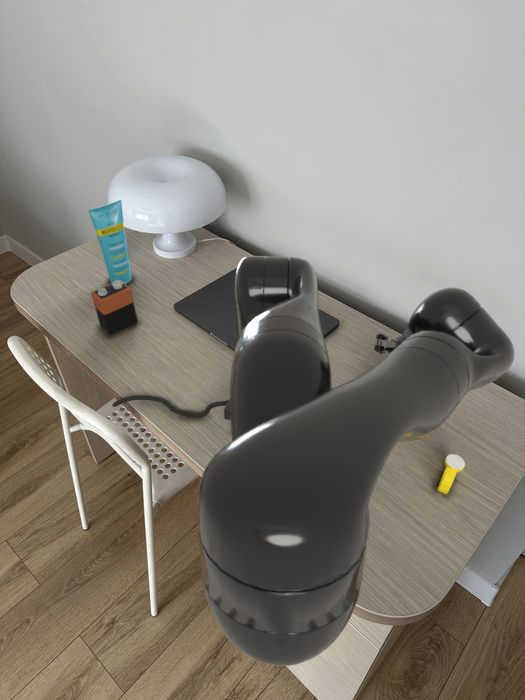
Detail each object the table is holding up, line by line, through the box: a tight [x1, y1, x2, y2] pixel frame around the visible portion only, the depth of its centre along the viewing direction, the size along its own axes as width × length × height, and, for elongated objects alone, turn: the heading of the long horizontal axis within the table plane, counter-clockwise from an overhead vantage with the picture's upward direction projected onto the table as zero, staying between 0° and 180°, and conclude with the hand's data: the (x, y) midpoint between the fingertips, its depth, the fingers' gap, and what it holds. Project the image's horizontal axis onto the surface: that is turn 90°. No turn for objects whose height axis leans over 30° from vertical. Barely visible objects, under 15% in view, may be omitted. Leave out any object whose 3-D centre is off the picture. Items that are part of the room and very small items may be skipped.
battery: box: [91, 280, 138, 336], centre depth 100 cm, size 4×7×10 cm, turn 131°
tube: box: [87, 199, 132, 285], centre depth 109 cm, size 7×5×19 cm, turn 134°
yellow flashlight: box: [437, 453, 466, 495], centre depth 75 cm, size 6×3×6 cm, turn 149°
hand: (411, 352), depth 82 cm, fingers closed on supplement bottle, 5 cm apart
